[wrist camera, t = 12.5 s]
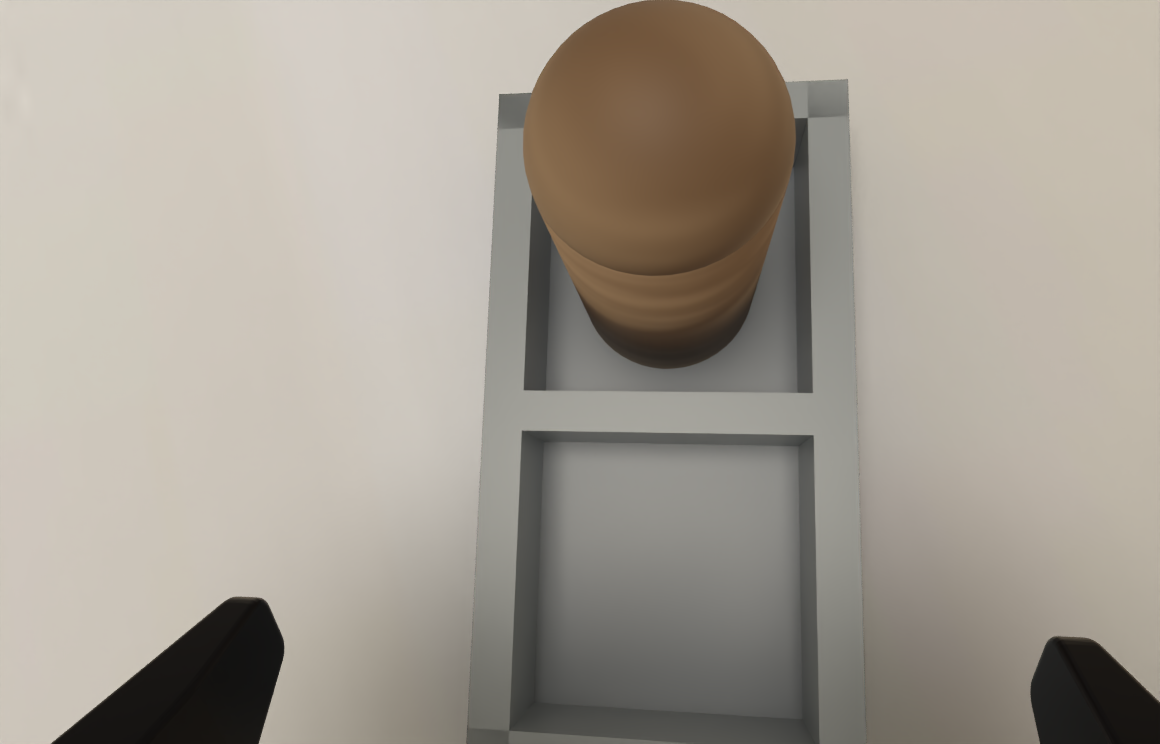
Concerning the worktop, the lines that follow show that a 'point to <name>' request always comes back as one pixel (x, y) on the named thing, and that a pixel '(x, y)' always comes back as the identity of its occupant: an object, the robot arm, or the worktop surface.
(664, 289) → the dome-topped wooden peg
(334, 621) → the worktop surface
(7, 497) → the worktop surface
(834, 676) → the grey divided tray
